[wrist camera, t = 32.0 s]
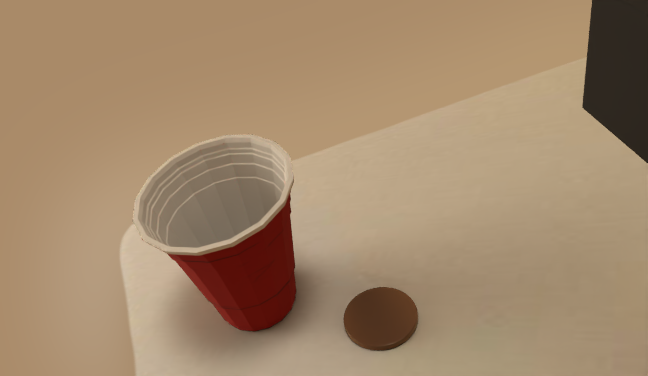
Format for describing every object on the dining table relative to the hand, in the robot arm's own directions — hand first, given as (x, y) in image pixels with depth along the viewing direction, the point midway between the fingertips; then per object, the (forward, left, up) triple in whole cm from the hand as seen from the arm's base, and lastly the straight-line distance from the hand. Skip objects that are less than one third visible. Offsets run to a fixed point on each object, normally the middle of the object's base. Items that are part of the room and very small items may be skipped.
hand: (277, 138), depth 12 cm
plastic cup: (-7, -22, -28) cm, 36 cm away
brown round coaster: (-12, -13, -28) cm, 33 cm away
